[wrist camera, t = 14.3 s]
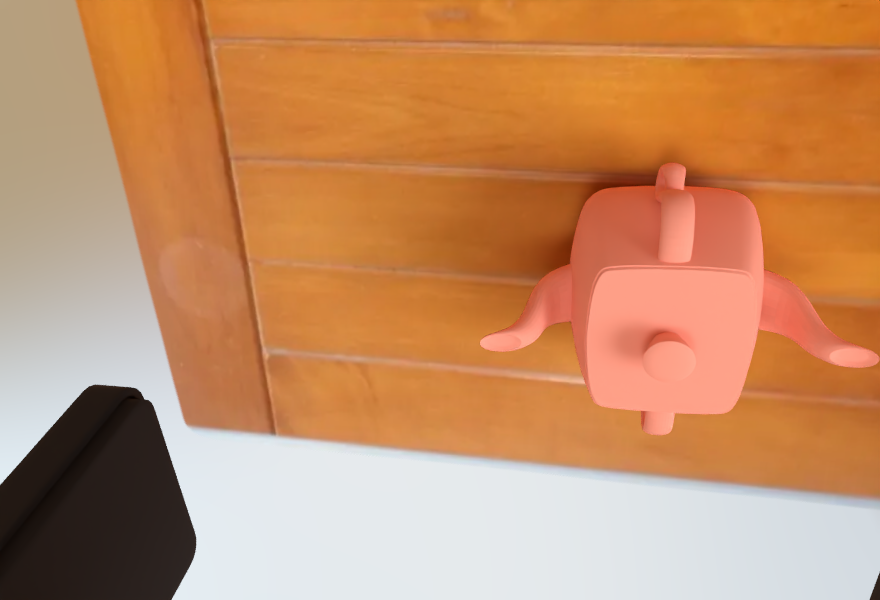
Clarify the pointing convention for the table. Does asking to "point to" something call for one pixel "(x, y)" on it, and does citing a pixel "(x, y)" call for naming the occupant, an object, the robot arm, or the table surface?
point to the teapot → (670, 301)
